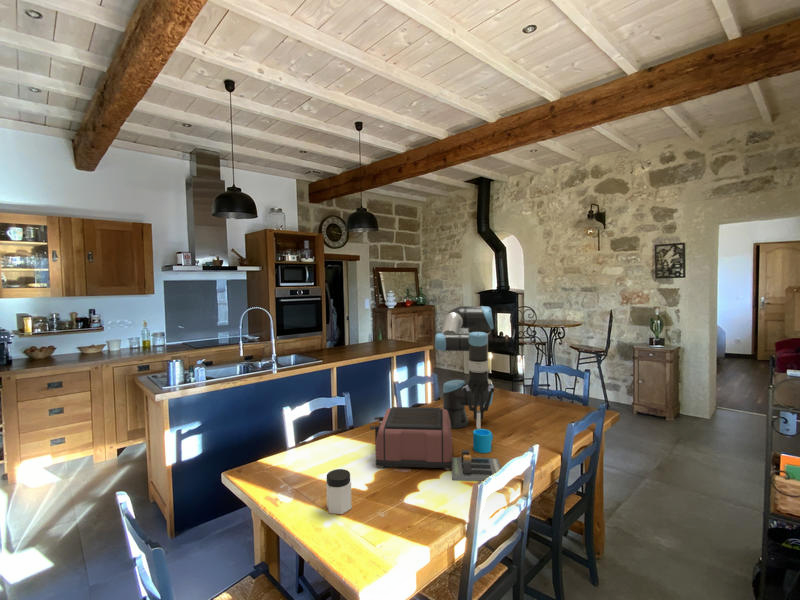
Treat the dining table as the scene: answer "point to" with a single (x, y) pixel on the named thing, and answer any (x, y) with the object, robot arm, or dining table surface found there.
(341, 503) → the jar
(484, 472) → the panel
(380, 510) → the dining table surface
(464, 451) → the breaker
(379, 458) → the toaster
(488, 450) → the mug
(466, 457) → the breaker
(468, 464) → the breaker
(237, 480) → the dining table surface
